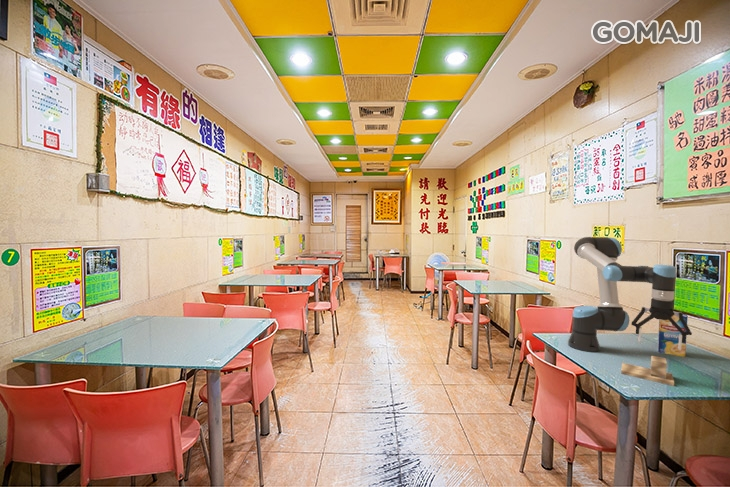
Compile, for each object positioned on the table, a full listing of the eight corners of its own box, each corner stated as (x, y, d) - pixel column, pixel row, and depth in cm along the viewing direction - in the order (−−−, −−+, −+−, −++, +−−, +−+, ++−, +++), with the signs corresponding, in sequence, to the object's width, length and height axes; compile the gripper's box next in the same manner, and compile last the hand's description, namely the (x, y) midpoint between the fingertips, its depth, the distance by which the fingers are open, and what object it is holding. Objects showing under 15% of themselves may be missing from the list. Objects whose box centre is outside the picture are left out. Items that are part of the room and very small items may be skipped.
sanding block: (650, 375, 146) (651, 360, 146) (650, 370, 152) (651, 355, 152) (665, 379, 143) (666, 363, 143) (665, 373, 149) (665, 358, 149)
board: (621, 373, 152) (621, 370, 151) (622, 365, 161) (622, 362, 161) (674, 386, 140) (674, 382, 140) (671, 376, 149) (672, 373, 149)
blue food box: (685, 357, 174) (687, 316, 173) (657, 351, 181) (660, 312, 180) (684, 353, 179) (686, 314, 178) (657, 348, 186) (659, 310, 185)
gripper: (626, 296, 151) (623, 340, 153) (703, 305, 135) (699, 354, 137) (627, 293, 157) (624, 336, 158) (700, 302, 141) (696, 349, 142)
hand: (658, 345), depth 148 cm, fingers open, 13 cm apart
